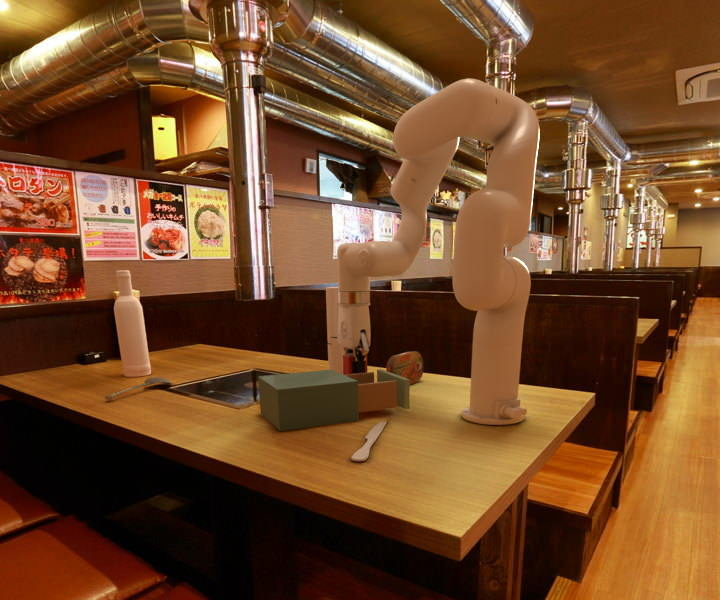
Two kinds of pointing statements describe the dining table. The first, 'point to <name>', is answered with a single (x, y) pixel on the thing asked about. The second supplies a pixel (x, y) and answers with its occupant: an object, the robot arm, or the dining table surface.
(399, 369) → the tin
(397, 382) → the drawer
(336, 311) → the cylindrical container
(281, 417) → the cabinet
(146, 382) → the soupspoon
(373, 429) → the butter knife
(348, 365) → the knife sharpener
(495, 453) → the dining table surface
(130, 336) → the bottle
